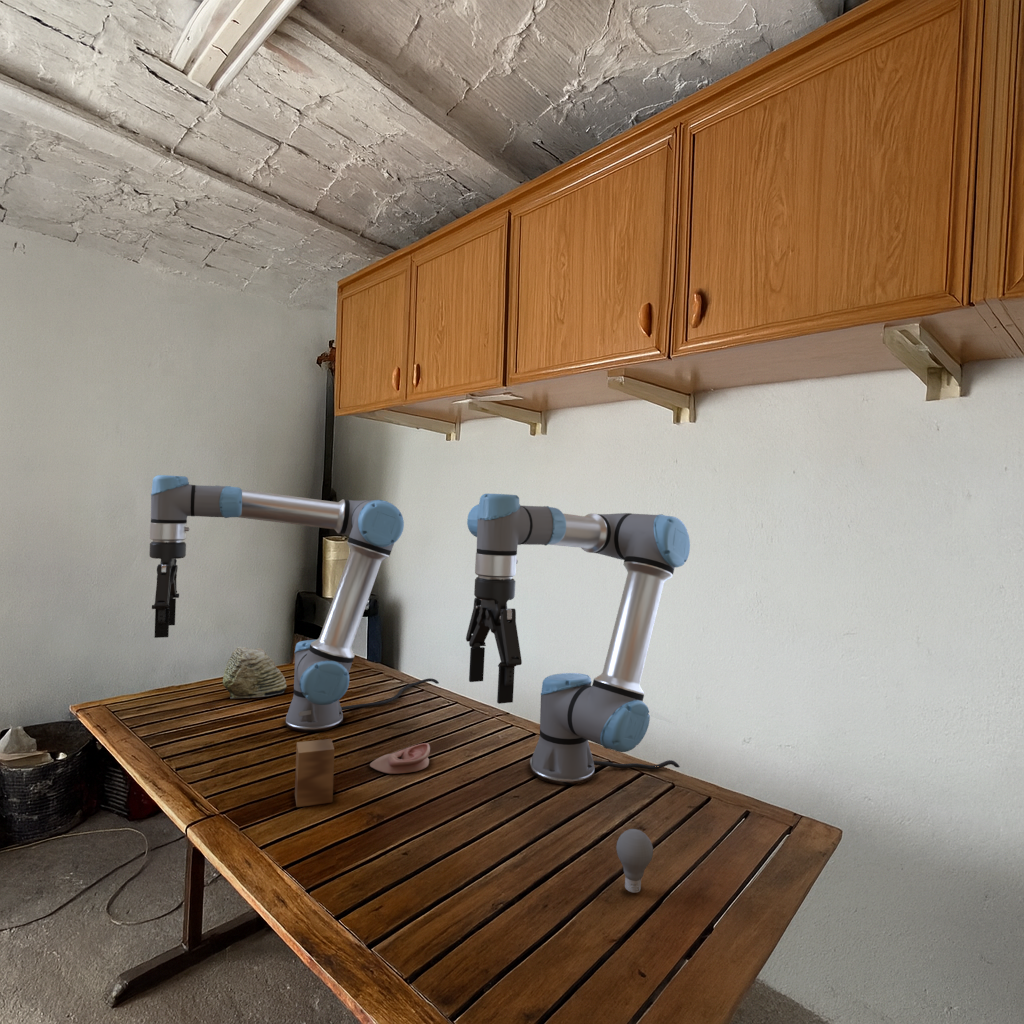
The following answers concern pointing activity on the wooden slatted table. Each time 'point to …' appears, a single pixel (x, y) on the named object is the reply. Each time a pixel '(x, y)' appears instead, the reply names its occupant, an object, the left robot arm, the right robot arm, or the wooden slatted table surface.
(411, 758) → the anatomical model
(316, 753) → the block
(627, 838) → the light bulb
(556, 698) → the right robot arm
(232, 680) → the fossil
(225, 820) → the wooden slatted table surface
